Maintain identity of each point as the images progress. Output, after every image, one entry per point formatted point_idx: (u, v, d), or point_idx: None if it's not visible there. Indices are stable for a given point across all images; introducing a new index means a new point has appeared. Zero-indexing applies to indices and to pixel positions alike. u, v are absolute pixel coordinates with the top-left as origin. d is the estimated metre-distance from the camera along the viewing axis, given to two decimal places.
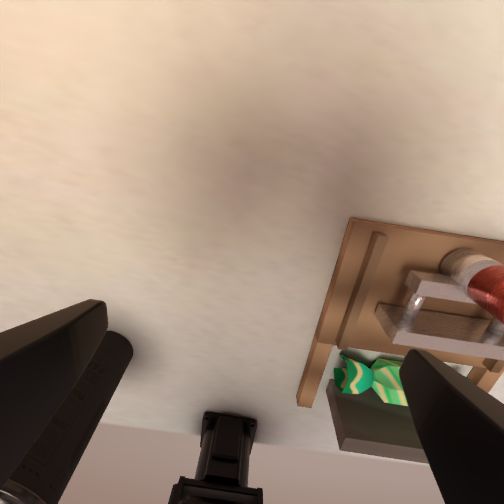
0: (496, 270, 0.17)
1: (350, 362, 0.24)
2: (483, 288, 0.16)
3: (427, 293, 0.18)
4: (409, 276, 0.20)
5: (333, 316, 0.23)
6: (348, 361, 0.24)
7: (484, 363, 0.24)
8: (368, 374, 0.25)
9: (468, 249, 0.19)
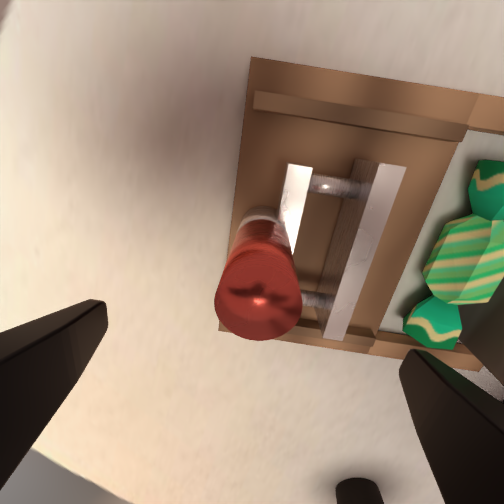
0: None
1: (406, 327, 0.19)
2: None
3: None
4: None
5: (330, 341, 0.20)
6: (405, 329, 0.19)
7: (448, 140, 0.14)
8: (432, 309, 0.18)
9: None
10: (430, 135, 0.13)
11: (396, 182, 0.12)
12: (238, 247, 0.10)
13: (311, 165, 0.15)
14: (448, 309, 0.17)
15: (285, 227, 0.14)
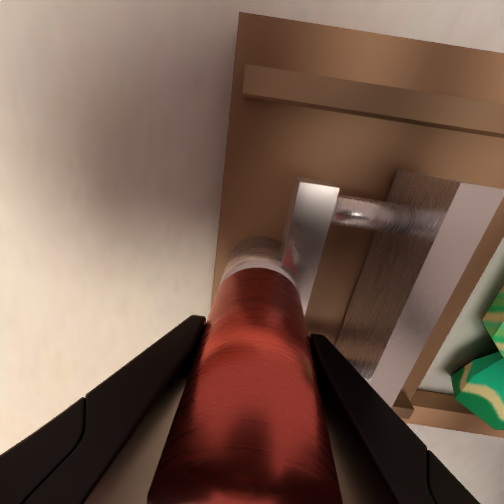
0: None
1: (462, 396, 0.14)
2: None
3: None
4: None
5: None
6: (458, 397, 0.14)
7: None
8: (501, 375, 0.13)
9: None
10: None
11: (485, 215, 0.07)
12: (211, 344, 0.06)
13: (330, 179, 0.10)
14: None
15: (294, 277, 0.09)
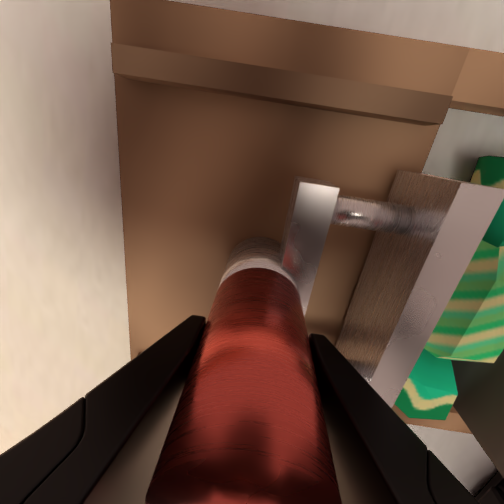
0: None
1: None
2: None
3: None
4: None
5: None
6: None
7: (424, 123, 0.09)
8: (417, 364, 0.13)
9: None
10: (392, 114, 0.08)
11: (486, 215, 0.07)
12: (210, 344, 0.06)
13: (224, 162, 0.10)
14: (438, 366, 0.12)
15: (294, 277, 0.09)
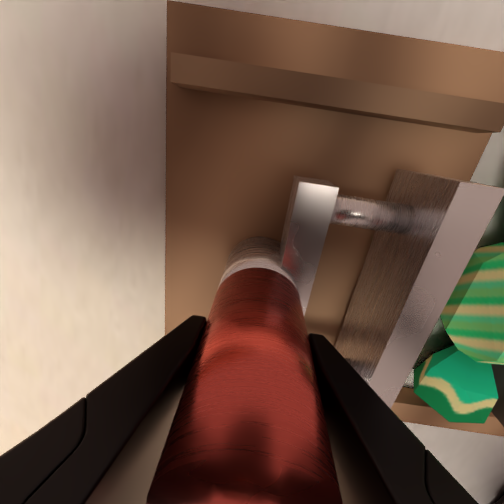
0: None
1: (419, 389, 0.14)
2: None
3: None
4: None
5: None
6: (417, 390, 0.14)
7: (477, 131, 0.09)
8: (456, 368, 0.13)
9: None
10: (450, 122, 0.08)
11: (485, 214, 0.07)
12: (210, 345, 0.06)
13: (272, 170, 0.10)
14: (478, 370, 0.12)
15: (293, 277, 0.09)
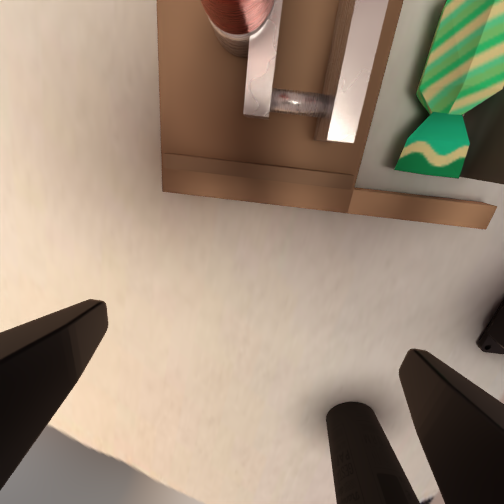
0: None
1: (399, 163, 0.15)
2: (226, 21, 0.09)
3: (265, 96, 0.12)
4: (254, 117, 0.13)
5: (300, 196, 0.16)
6: (397, 166, 0.15)
7: None
8: (430, 127, 0.14)
9: None
10: None
11: None
12: None
13: None
14: (450, 121, 0.13)
15: None
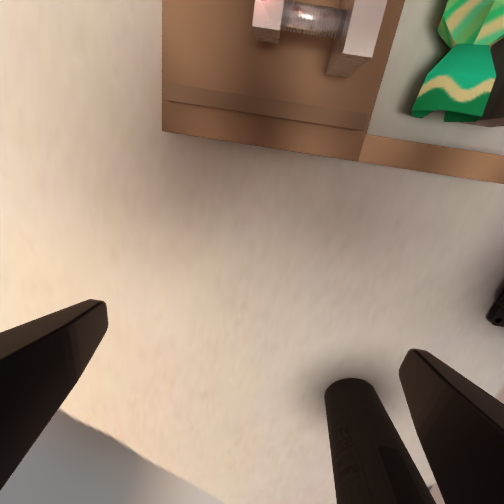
0: None
1: (417, 102, 0.14)
2: None
3: (277, 5, 0.11)
4: (263, 39, 0.12)
5: (308, 140, 0.15)
6: (414, 106, 0.14)
7: None
8: (453, 59, 0.13)
9: None
10: None
11: None
12: None
13: None
14: (476, 51, 0.12)
15: None
